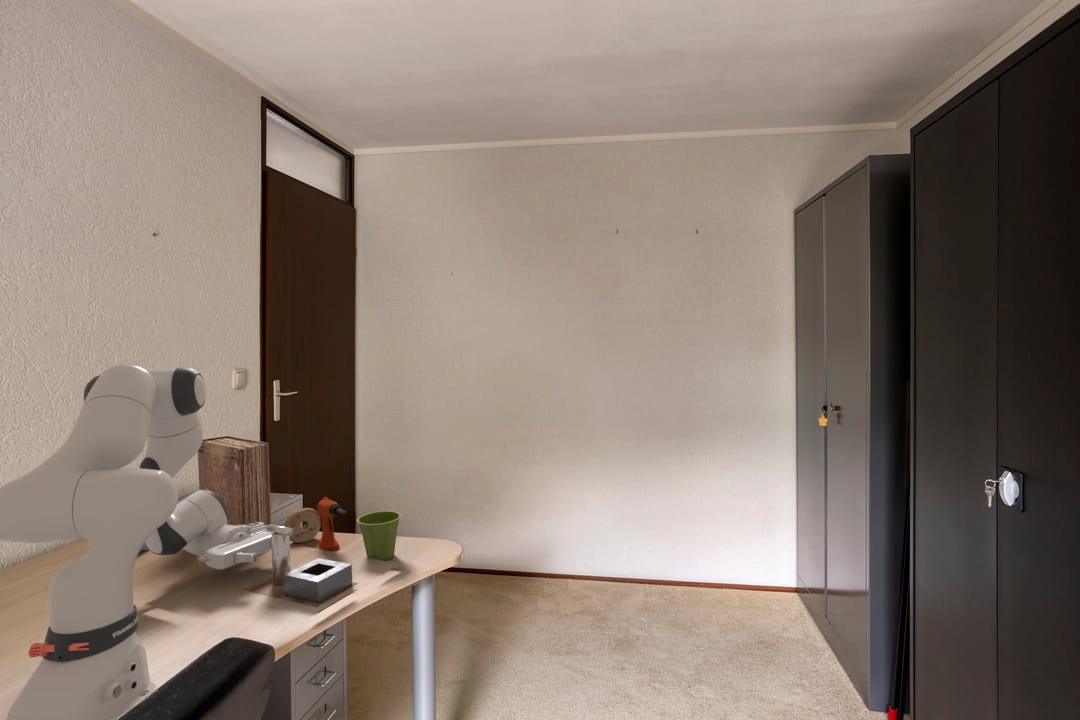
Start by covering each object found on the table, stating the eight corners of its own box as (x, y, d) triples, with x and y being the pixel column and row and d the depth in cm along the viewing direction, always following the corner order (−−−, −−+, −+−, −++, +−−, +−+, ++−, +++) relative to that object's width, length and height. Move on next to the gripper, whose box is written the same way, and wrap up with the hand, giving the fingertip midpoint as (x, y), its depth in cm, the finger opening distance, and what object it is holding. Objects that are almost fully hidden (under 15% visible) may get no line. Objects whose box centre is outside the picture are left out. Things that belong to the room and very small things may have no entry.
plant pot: (381, 546, 165) (380, 508, 164) (411, 553, 159) (410, 514, 158) (348, 560, 155) (347, 520, 154) (379, 569, 149) (378, 526, 148)
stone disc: (317, 535, 175) (316, 503, 175) (322, 538, 173) (321, 505, 172) (282, 544, 168) (281, 511, 168) (287, 547, 165) (286, 513, 165)
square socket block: (352, 584, 136) (351, 564, 136) (318, 604, 126) (317, 582, 126) (319, 577, 140) (318, 558, 140) (284, 596, 130) (283, 574, 130)
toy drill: (339, 559, 152) (335, 503, 153) (316, 549, 166) (312, 497, 167) (357, 554, 155) (352, 499, 156) (332, 544, 169) (328, 494, 170)
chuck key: (299, 581, 138) (297, 525, 138) (285, 587, 135) (283, 530, 134) (275, 576, 142) (273, 521, 141) (262, 582, 138) (260, 526, 137)
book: (272, 541, 171) (268, 443, 170) (241, 551, 163) (237, 448, 162) (231, 526, 186) (227, 435, 185) (201, 534, 178) (197, 440, 177)
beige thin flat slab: (358, 589, 137) (358, 583, 137) (317, 613, 125) (317, 607, 125) (285, 574, 146) (285, 568, 146) (241, 595, 134) (241, 589, 134)
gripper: (192, 545, 135) (232, 553, 129) (265, 519, 153) (303, 525, 148) (193, 571, 135) (233, 580, 129) (266, 542, 154) (304, 549, 148)
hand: (271, 551), depth 139 cm, fingers open, 8 cm apart
